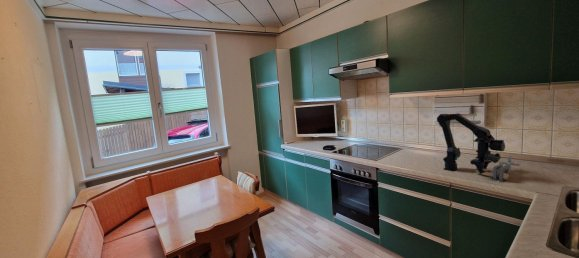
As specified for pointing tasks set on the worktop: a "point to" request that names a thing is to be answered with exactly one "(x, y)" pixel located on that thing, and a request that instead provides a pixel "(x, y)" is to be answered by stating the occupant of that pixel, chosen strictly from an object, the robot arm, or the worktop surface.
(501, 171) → the firebox collars
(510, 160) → the pipe connector
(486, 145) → the robot arm
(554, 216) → the worktop surface
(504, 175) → the tube
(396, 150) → the worktop surface
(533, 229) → the worktop surface
